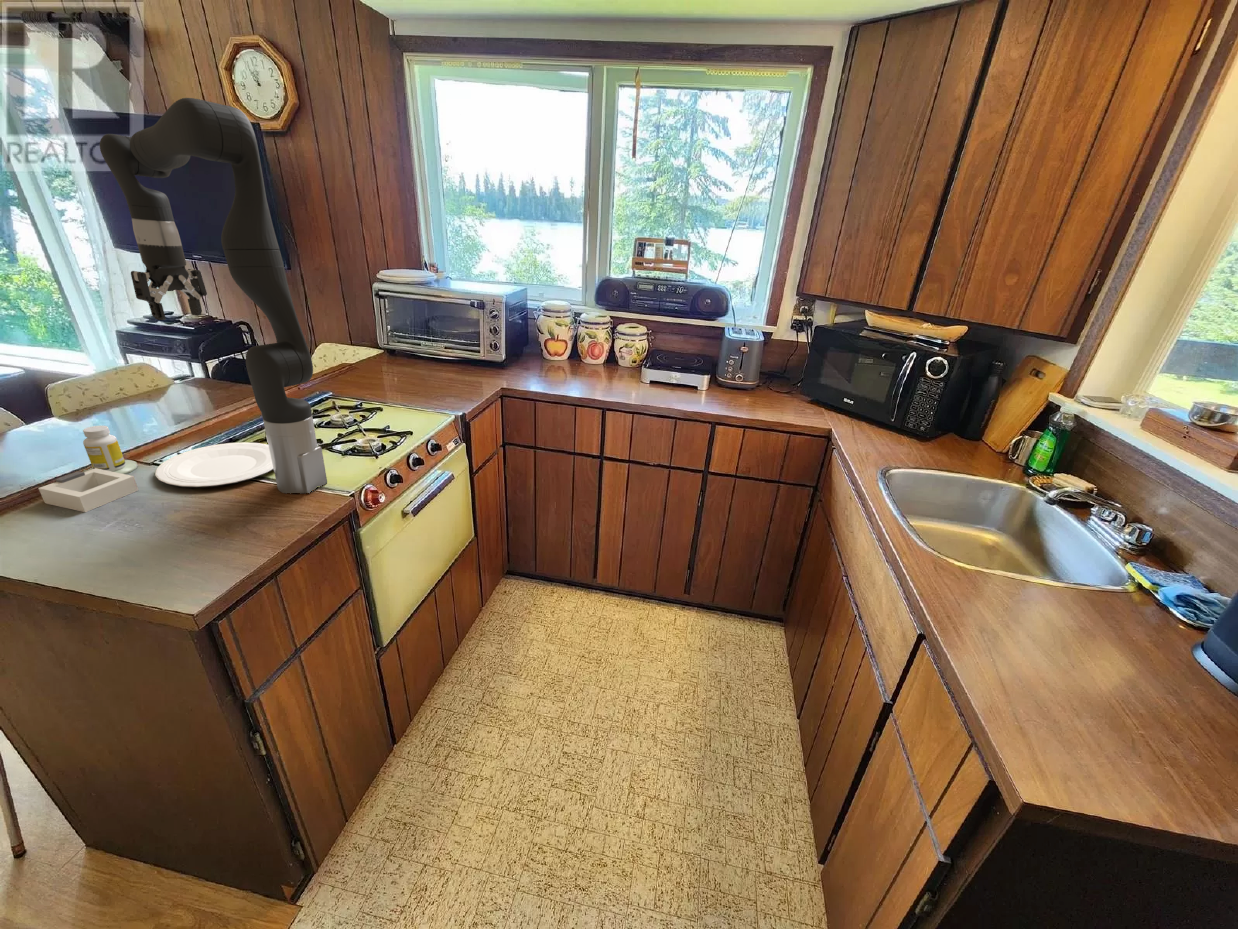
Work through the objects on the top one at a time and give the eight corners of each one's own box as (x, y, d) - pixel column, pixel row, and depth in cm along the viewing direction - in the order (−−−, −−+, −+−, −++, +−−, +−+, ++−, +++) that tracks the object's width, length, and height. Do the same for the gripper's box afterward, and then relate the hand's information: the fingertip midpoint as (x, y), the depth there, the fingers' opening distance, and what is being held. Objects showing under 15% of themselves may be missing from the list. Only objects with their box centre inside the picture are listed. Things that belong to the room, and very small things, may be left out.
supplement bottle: (123, 461, 118) (110, 422, 114) (128, 468, 115) (115, 429, 111) (91, 467, 114) (76, 427, 110) (96, 475, 111) (80, 434, 107)
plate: (254, 441, 136) (252, 434, 136) (306, 467, 126) (305, 460, 125) (137, 470, 116) (134, 463, 116) (187, 504, 106) (185, 497, 105)
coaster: (147, 465, 118) (147, 463, 118) (105, 481, 110) (104, 479, 110) (116, 459, 119) (115, 457, 119) (72, 474, 111) (71, 472, 111)
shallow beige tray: (138, 490, 108) (132, 473, 107) (85, 512, 99) (78, 494, 98) (100, 482, 110) (94, 465, 108) (45, 503, 101) (37, 485, 99)
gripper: (139, 244, 103) (161, 323, 110) (204, 244, 116) (220, 315, 123) (109, 240, 104) (133, 319, 111) (177, 241, 117) (195, 311, 124)
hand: (179, 317), depth 117 cm, fingers open, 8 cm apart
